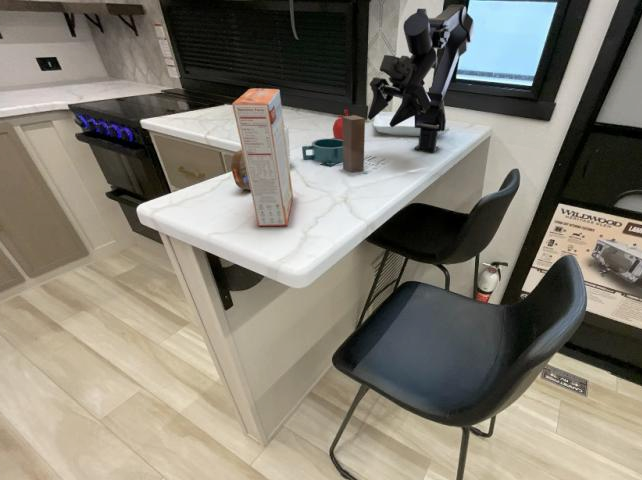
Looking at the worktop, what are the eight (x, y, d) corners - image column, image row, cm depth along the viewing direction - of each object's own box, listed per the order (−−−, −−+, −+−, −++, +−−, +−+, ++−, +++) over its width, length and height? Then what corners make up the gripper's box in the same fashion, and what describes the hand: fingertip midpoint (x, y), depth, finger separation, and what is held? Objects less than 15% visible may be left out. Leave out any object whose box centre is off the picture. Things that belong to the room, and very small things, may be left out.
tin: (247, 195, 74) (239, 156, 69) (234, 194, 74) (225, 155, 69) (275, 173, 85) (269, 138, 80) (263, 172, 86) (257, 137, 80)
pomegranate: (367, 142, 112) (368, 111, 106) (342, 146, 107) (341, 113, 101) (352, 135, 118) (352, 106, 112) (327, 139, 113) (326, 108, 107)
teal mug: (342, 153, 101) (342, 137, 98) (352, 164, 94) (352, 147, 91) (300, 156, 97) (298, 139, 95) (306, 167, 90) (305, 149, 87)
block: (355, 168, 91) (355, 115, 83) (363, 172, 88) (365, 118, 80) (343, 170, 89) (342, 116, 81) (351, 175, 87) (351, 120, 78)
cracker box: (266, 197, 73) (248, 87, 60) (294, 197, 74) (281, 88, 61) (255, 227, 63) (229, 100, 49) (287, 227, 63) (270, 101, 50)
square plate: (448, 140, 118) (451, 128, 115) (372, 137, 117) (373, 125, 115) (437, 123, 139) (439, 112, 136) (372, 120, 138) (373, 109, 136)
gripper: (377, 38, 83) (340, 92, 85) (429, 42, 71) (386, 104, 73) (398, 75, 92) (364, 123, 93) (447, 84, 80) (408, 138, 82)
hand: (379, 122), depth 85 cm, fingers open, 9 cm apart
